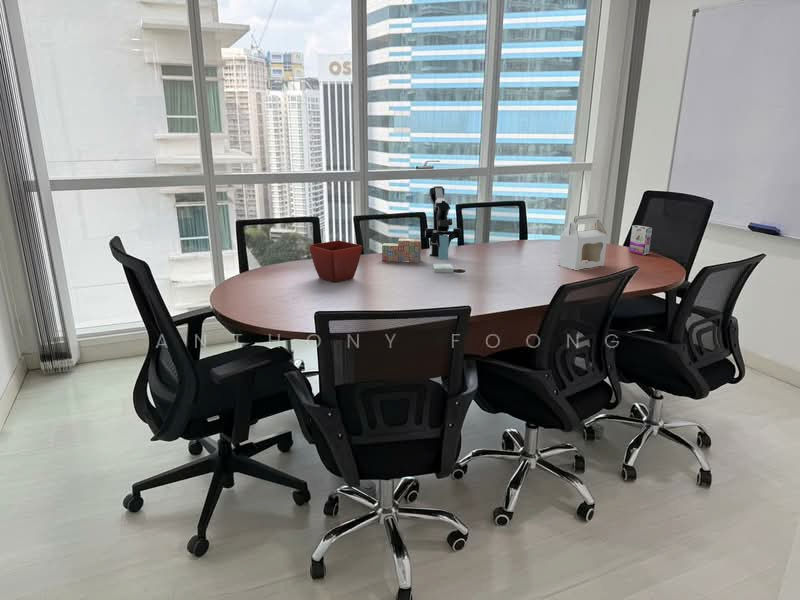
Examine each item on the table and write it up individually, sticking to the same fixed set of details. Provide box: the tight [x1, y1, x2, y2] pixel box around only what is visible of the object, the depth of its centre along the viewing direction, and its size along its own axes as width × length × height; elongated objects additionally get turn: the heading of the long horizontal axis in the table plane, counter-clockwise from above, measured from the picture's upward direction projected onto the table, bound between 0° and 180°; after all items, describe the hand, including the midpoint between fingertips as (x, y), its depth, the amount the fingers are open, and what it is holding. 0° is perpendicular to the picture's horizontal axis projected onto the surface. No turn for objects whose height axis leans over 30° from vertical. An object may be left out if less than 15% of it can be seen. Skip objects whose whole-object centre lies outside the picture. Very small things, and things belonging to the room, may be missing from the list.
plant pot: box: [309, 240, 363, 283], centre depth 285 cm, size 19×19×17 cm
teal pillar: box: [438, 235, 450, 261], centre depth 301 cm, size 4×4×12 cm
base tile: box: [432, 263, 454, 273], centre depth 304 cm, size 10×10×2 cm
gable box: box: [557, 213, 608, 270], centre depth 311 cm, size 22×13×28 cm, turn 119°
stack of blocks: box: [381, 238, 422, 263], centre depth 322 cm, size 21×6×12 cm, turn 84°
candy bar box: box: [628, 224, 653, 256], centre depth 343 cm, size 11×5×16 cm, turn 28°
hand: (443, 246), depth 299 cm, fingers closed on teal pillar, 4 cm apart
